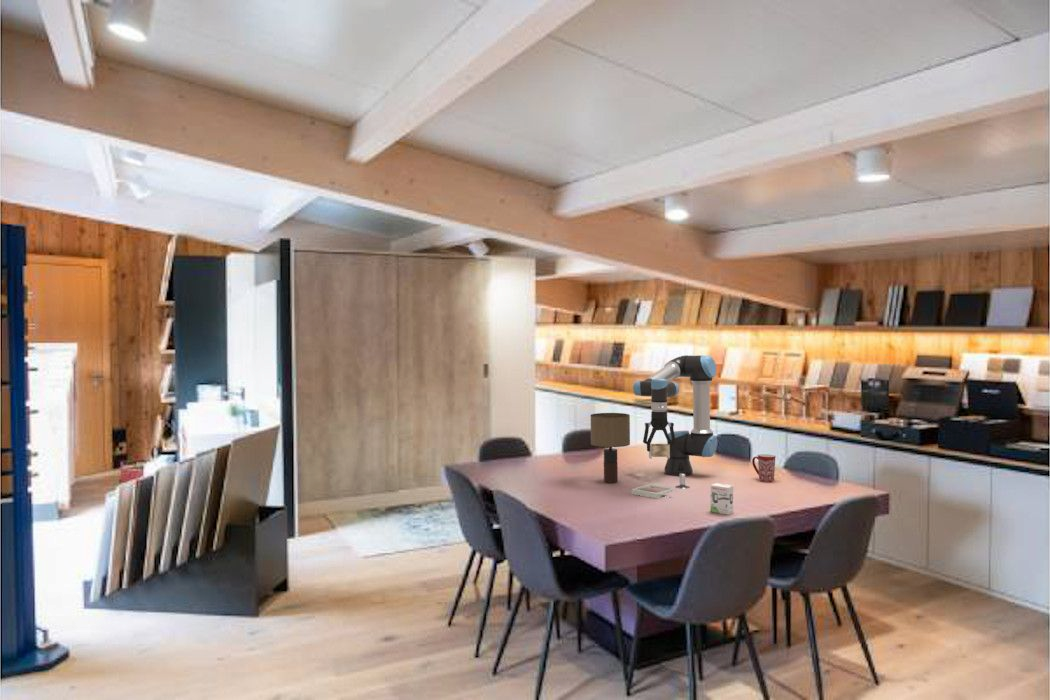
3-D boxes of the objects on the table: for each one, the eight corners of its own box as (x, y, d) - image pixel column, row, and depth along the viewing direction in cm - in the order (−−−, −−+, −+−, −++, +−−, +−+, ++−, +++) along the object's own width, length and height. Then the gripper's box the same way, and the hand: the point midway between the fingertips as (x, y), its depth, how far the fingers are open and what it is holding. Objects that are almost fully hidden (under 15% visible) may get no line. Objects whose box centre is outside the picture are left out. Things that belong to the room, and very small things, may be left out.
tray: (631, 494, 344) (631, 489, 344) (649, 488, 354) (649, 484, 354) (657, 498, 333) (657, 493, 333) (675, 493, 344) (675, 488, 344)
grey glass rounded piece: (672, 490, 351) (672, 473, 351) (680, 487, 356) (680, 471, 356) (684, 492, 346) (684, 475, 346) (692, 489, 351) (692, 473, 351)
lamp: (593, 477, 384) (592, 412, 383) (631, 478, 380) (630, 413, 379) (589, 485, 364) (588, 417, 363) (629, 486, 360) (628, 417, 359)
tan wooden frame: (653, 456, 340) (653, 446, 340) (648, 453, 350) (648, 443, 350) (669, 456, 341) (669, 446, 341) (664, 453, 350) (664, 443, 350)
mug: (779, 481, 368) (779, 454, 368) (769, 483, 363) (768, 457, 363) (758, 477, 379) (758, 451, 378) (748, 479, 373) (747, 453, 373)
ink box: (710, 511, 308) (709, 484, 308) (715, 509, 312) (715, 482, 311) (728, 515, 302) (728, 487, 302) (733, 512, 306) (733, 485, 306)
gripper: (639, 411, 340) (639, 459, 340) (682, 411, 341) (682, 459, 341) (636, 410, 347) (636, 457, 347) (678, 409, 348) (678, 456, 349)
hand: (659, 458), depth 344 cm, fingers closed on tan wooden frame, 8 cm apart
